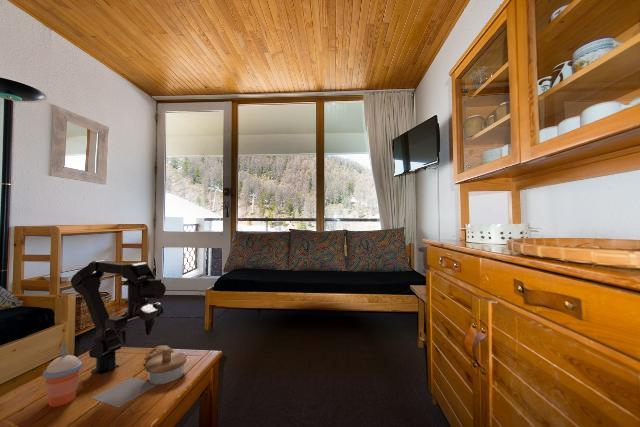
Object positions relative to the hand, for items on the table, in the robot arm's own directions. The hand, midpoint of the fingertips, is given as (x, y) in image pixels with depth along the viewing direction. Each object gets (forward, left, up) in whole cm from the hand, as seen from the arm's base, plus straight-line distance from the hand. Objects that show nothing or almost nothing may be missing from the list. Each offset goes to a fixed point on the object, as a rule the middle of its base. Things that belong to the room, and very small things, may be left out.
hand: (136, 339), depth 105 cm
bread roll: (0, +10, -13) cm, 16 cm away
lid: (+12, +3, -8) cm, 15 cm away
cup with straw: (-6, -19, -13) cm, 24 cm away
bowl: (+12, +3, -12) cm, 18 cm away
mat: (+8, -9, -12) cm, 17 cm away
